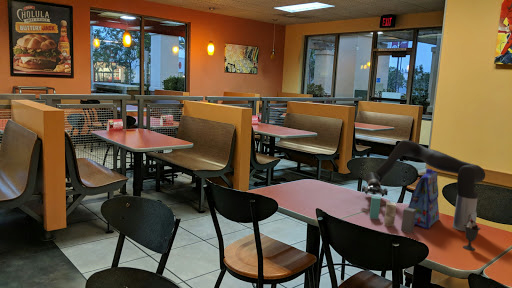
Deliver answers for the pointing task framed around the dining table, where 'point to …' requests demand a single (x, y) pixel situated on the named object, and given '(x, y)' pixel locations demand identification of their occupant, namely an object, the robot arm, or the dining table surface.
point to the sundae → (471, 233)
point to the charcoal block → (408, 220)
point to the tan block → (390, 214)
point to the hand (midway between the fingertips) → (374, 193)
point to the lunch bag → (426, 200)
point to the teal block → (375, 207)
